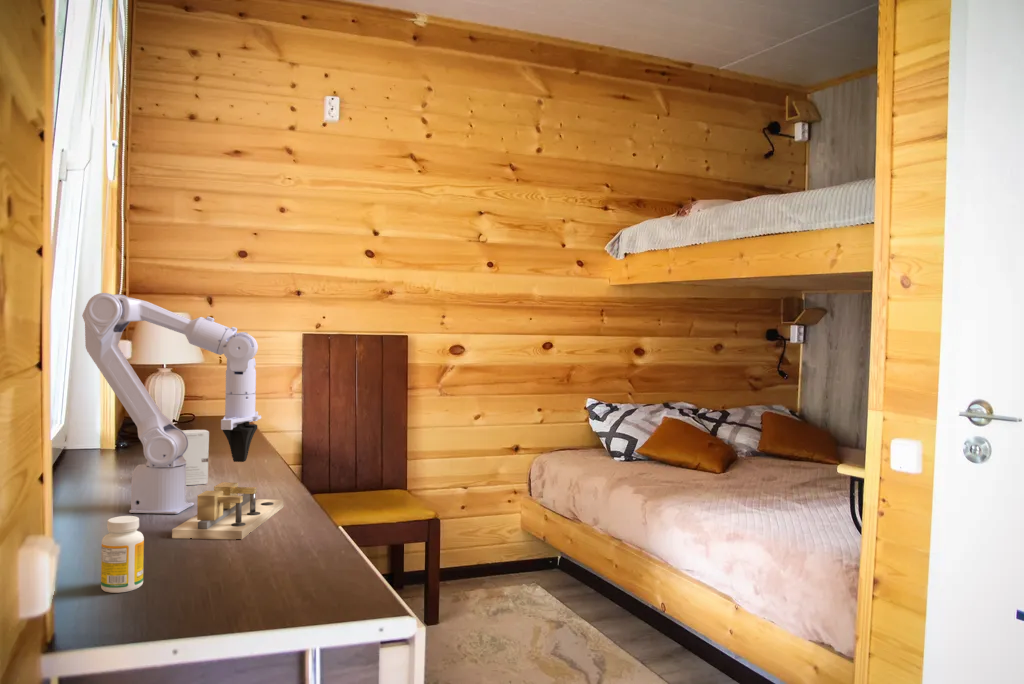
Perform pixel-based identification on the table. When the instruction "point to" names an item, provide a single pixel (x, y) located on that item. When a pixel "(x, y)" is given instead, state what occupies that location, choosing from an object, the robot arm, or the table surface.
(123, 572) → the supplement bottle
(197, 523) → the board
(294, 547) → the table surface
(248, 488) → the tan block with post
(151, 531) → the table surface
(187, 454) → the skincare box
